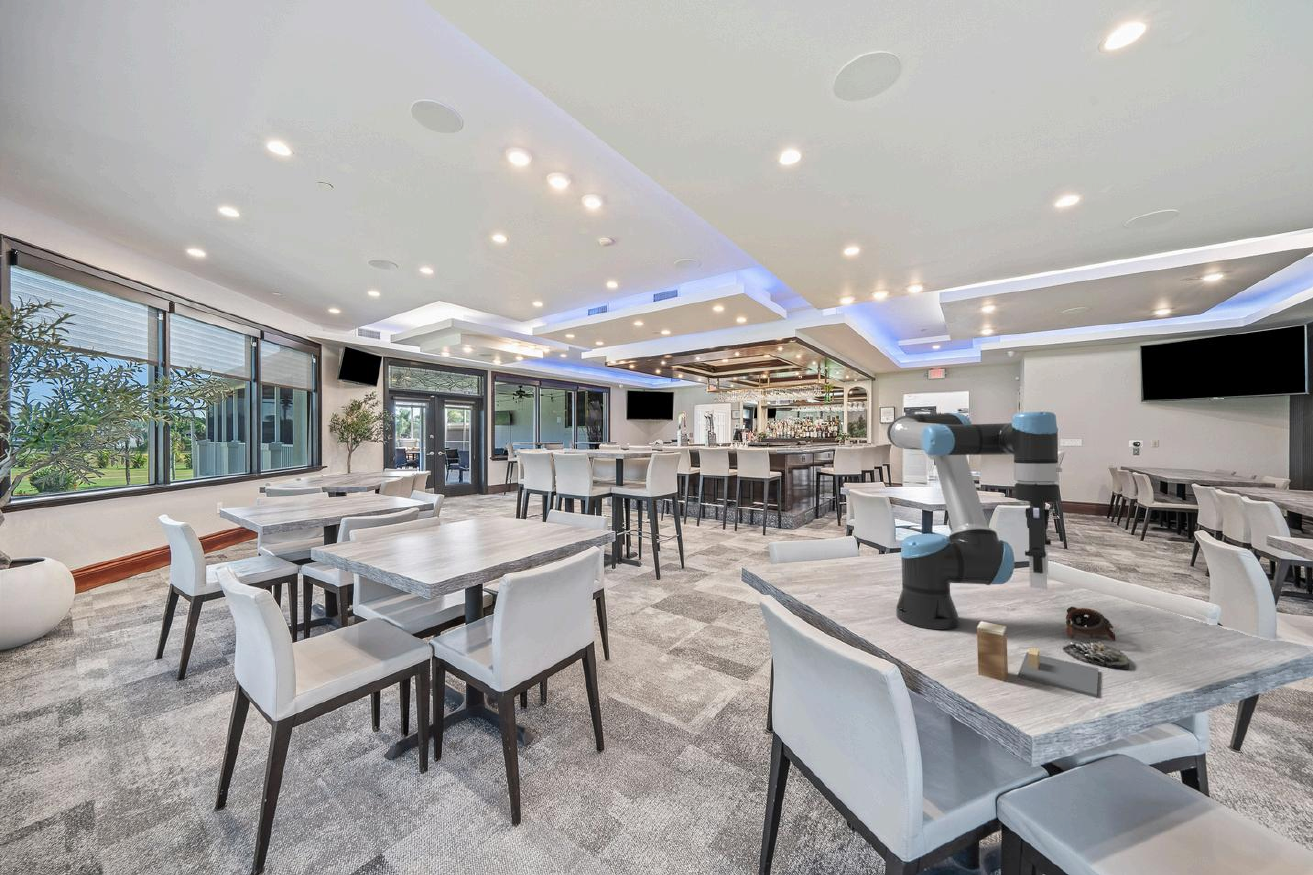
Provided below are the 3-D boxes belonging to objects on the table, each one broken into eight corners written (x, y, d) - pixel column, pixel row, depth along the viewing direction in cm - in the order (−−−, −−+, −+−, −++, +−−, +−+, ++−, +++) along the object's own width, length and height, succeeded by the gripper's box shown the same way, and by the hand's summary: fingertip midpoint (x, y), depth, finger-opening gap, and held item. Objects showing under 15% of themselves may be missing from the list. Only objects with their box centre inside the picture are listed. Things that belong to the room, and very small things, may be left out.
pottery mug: (1131, 648, 111) (1120, 621, 109) (1090, 663, 112) (1080, 636, 111) (1088, 617, 123) (1078, 592, 121) (1052, 631, 124) (1042, 607, 123)
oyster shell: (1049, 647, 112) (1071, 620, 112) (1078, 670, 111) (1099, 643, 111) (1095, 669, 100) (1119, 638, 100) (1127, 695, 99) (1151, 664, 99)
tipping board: (1018, 676, 97) (1017, 659, 97) (1026, 654, 107) (1026, 638, 107) (1096, 697, 89) (1096, 678, 89) (1098, 671, 99) (1097, 654, 99)
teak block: (978, 674, 99) (976, 627, 99) (982, 666, 102) (981, 621, 102) (1004, 681, 96) (1002, 632, 96) (1008, 673, 99) (1006, 626, 99)
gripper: (1059, 487, 89) (1063, 598, 89) (1059, 479, 108) (1062, 570, 108) (1010, 486, 94) (1013, 591, 94) (1018, 478, 113) (1021, 565, 113)
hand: (1039, 580), depth 101 cm, fingers open, 13 cm apart
